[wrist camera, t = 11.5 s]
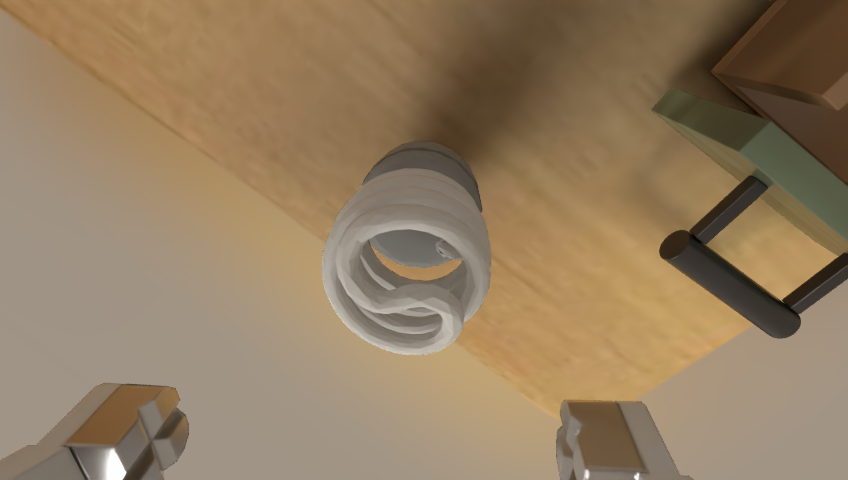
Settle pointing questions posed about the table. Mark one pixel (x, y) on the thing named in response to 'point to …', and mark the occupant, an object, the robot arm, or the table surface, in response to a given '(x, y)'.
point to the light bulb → (409, 251)
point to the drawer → (774, 152)
